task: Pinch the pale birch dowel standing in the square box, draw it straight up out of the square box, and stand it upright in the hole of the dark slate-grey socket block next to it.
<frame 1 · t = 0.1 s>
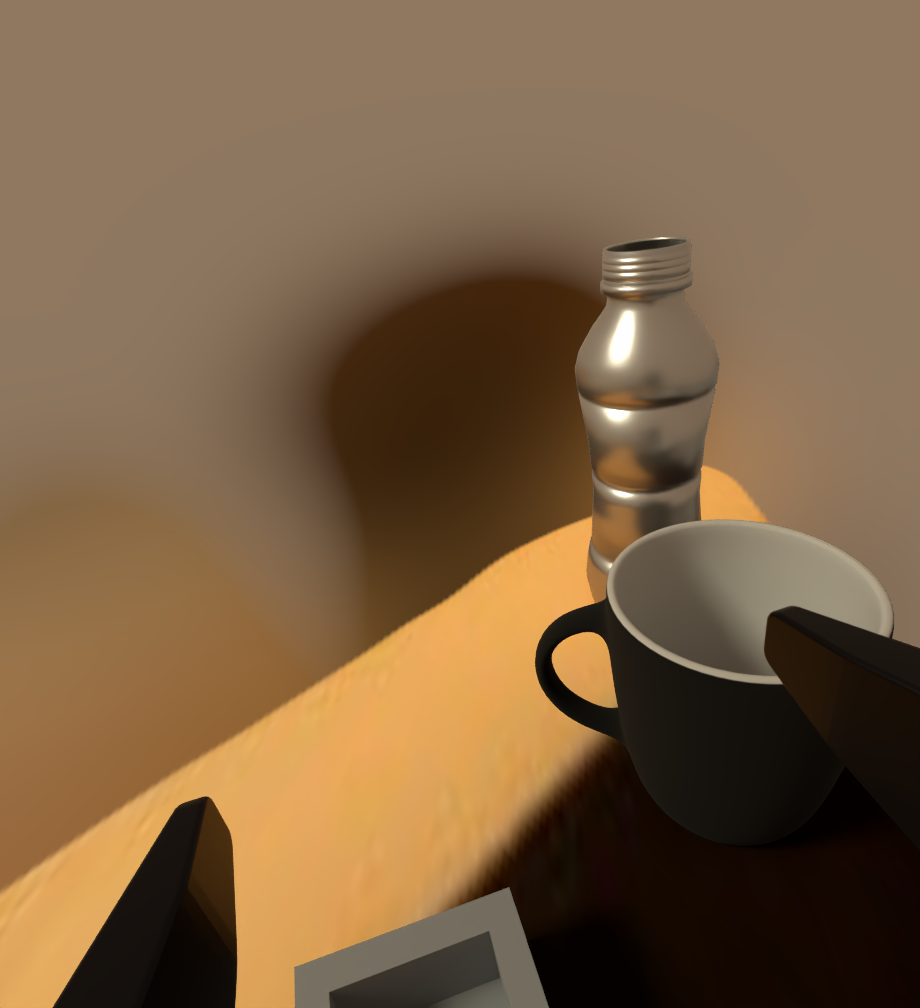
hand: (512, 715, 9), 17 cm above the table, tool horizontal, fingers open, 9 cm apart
plastic bottle: (645, 610, 35), on the table
mug: (682, 771, 26), on the table
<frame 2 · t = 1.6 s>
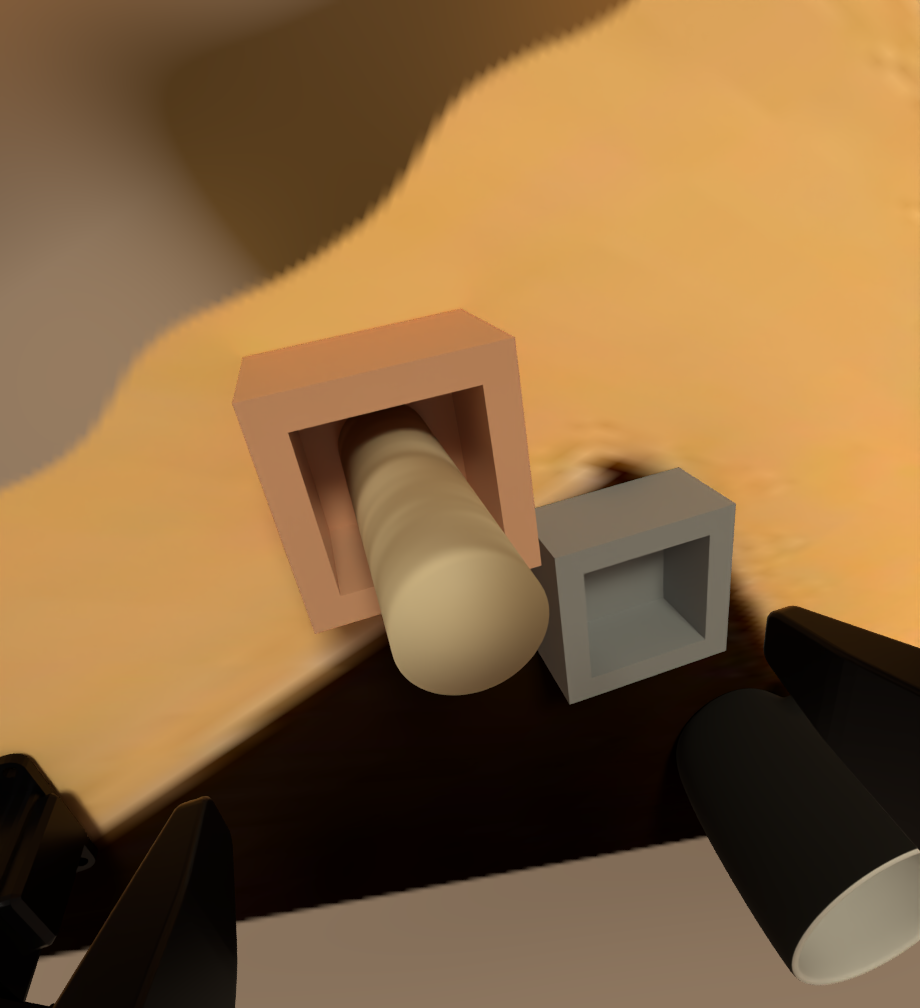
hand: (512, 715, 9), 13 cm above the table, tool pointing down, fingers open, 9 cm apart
dowel: (384, 445, 20), point 1 cm above the table, touching square box
mug: (737, 707, 33), on the table
square box: (380, 435, 20), on the table
socket block: (604, 561, 26), on the table
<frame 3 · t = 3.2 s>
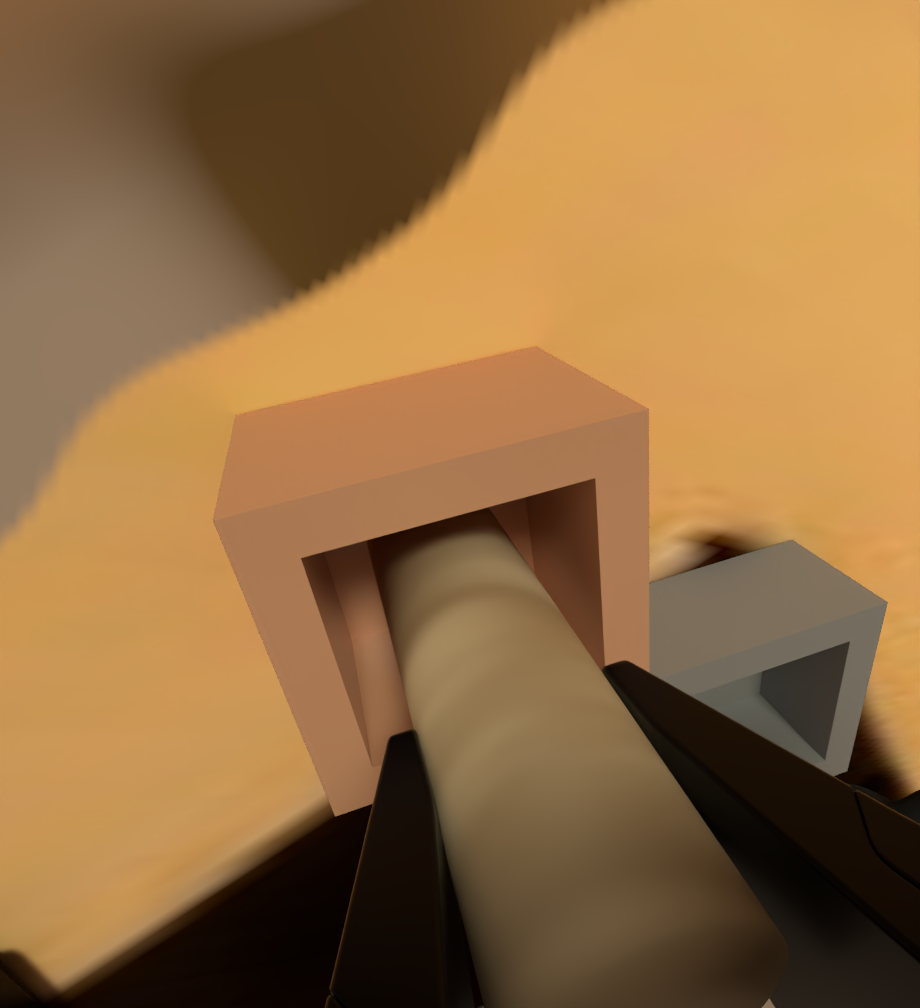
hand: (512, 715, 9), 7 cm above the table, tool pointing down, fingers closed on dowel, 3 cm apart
dowel: (428, 530, 14), point 1 cm above the table, touching square box, gripper
mug: (824, 803, 28), on the table
square box: (420, 511, 15), on the table
socket block: (691, 653, 20), on the table
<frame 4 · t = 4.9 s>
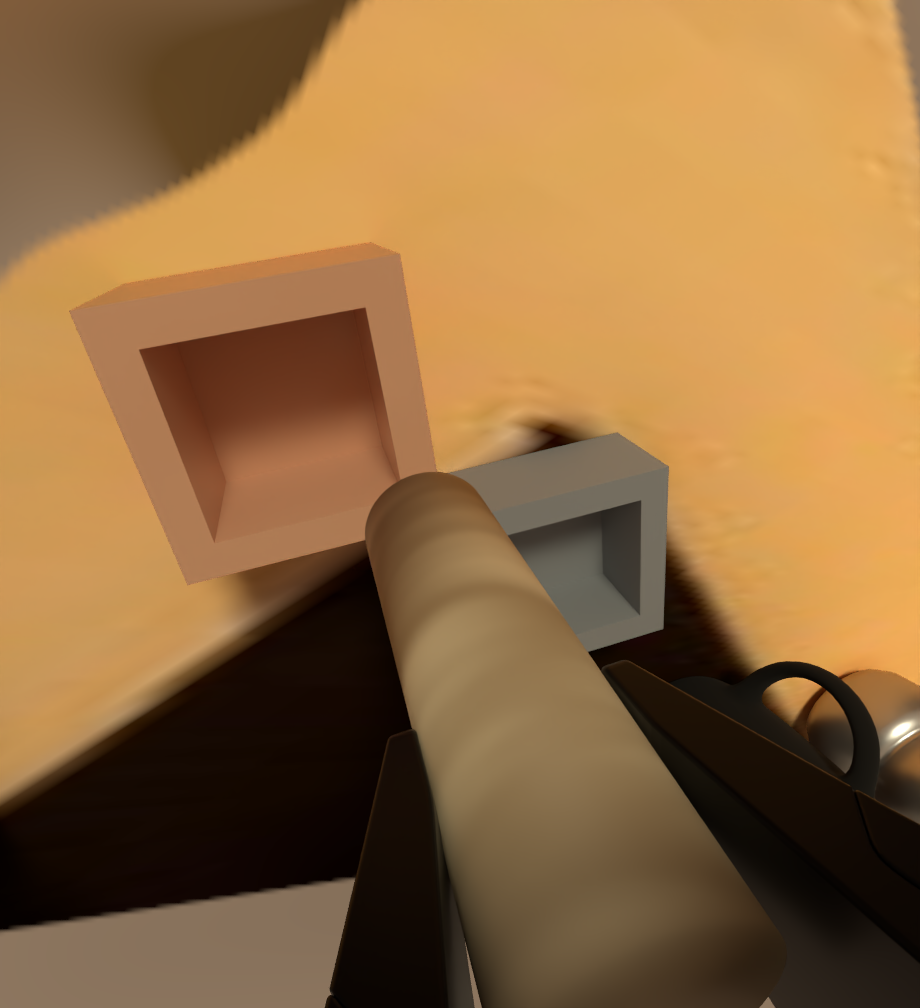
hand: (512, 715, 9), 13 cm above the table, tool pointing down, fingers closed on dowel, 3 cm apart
plastic bottle: (836, 695, 35), on the table
dowel: (427, 529, 14), point 7 cm above the table, touching gripper
mug: (687, 696, 31), on the table
square box: (284, 380, 19), on the table
socket block: (538, 532, 24), on the table
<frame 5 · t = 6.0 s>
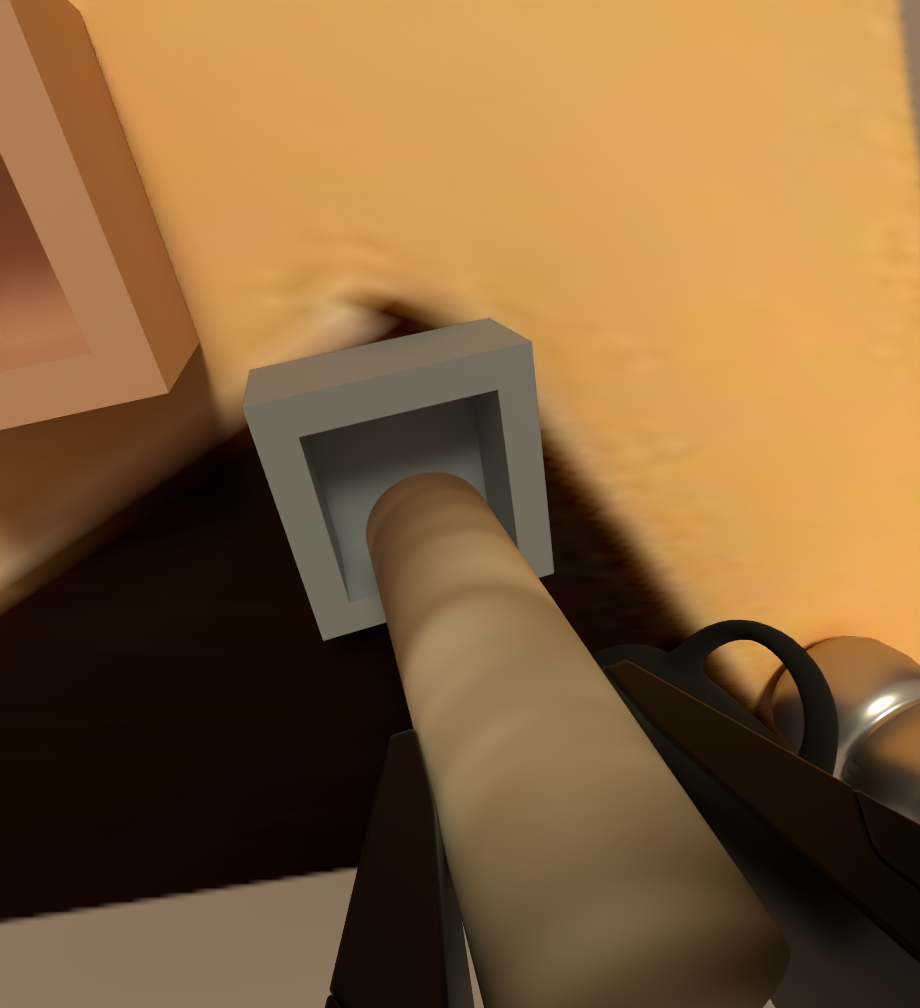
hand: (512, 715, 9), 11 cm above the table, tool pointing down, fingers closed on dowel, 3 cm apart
plastic bottle: (808, 668, 30), on the table
dowel: (428, 529, 14), point 5 cm above the table, touching gripper
mug: (621, 669, 26), on the table
socket block: (397, 453, 19), on the table
when the fingers open (7 cm above the table, at t = 7.0 s): dowel stays where it is, resting on socket block.
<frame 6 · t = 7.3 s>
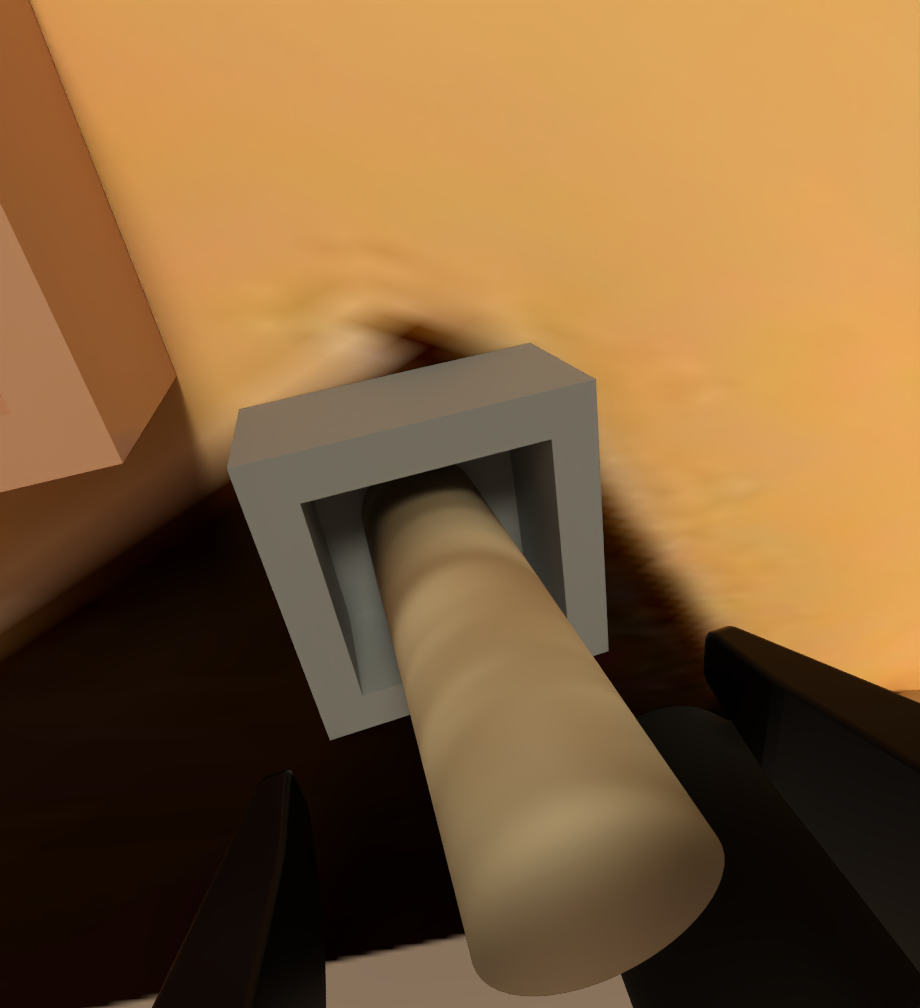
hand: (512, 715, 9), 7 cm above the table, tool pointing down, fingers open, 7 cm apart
dowel: (420, 510, 15), resting on socket block
mug: (665, 732, 23), on the table
socket block: (418, 504, 16), on the table
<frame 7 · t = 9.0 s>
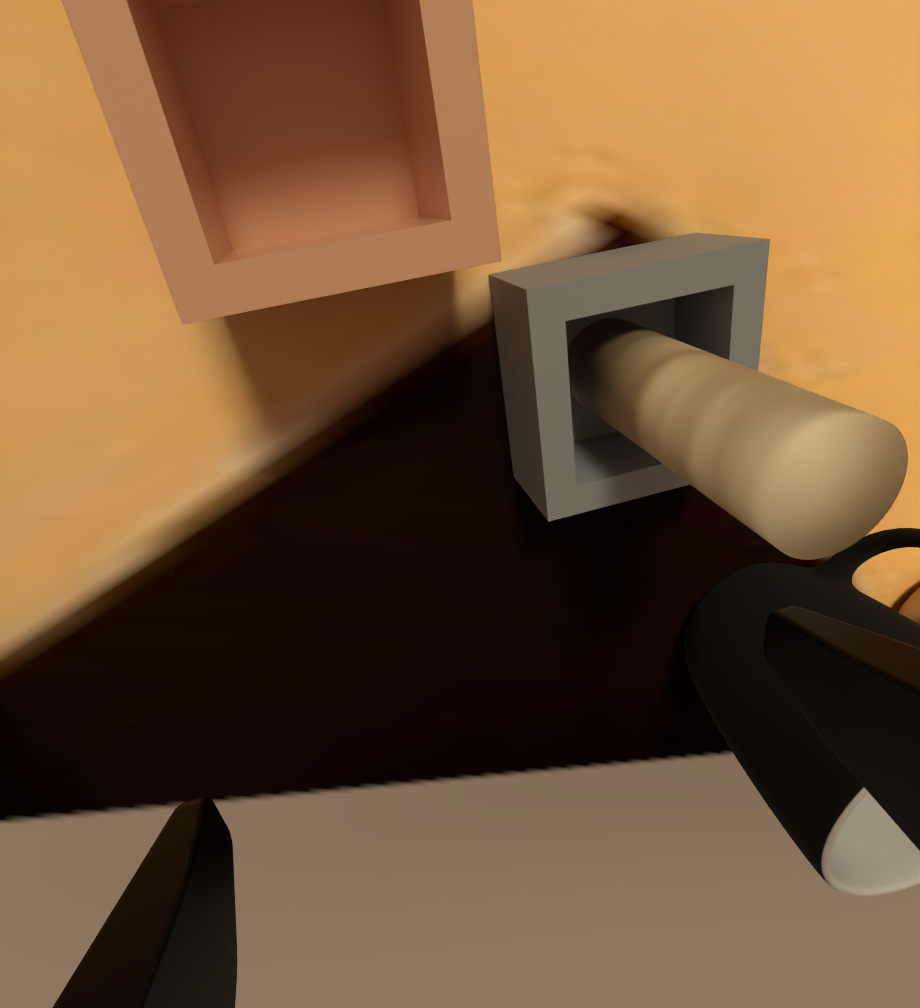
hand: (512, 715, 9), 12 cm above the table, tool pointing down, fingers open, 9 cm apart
dowel: (605, 364, 20), point 1 cm above the table, touching socket block
mug: (758, 590, 28), on the table
square box: (301, 127, 16), on the table
socket block: (599, 361, 21), on the table
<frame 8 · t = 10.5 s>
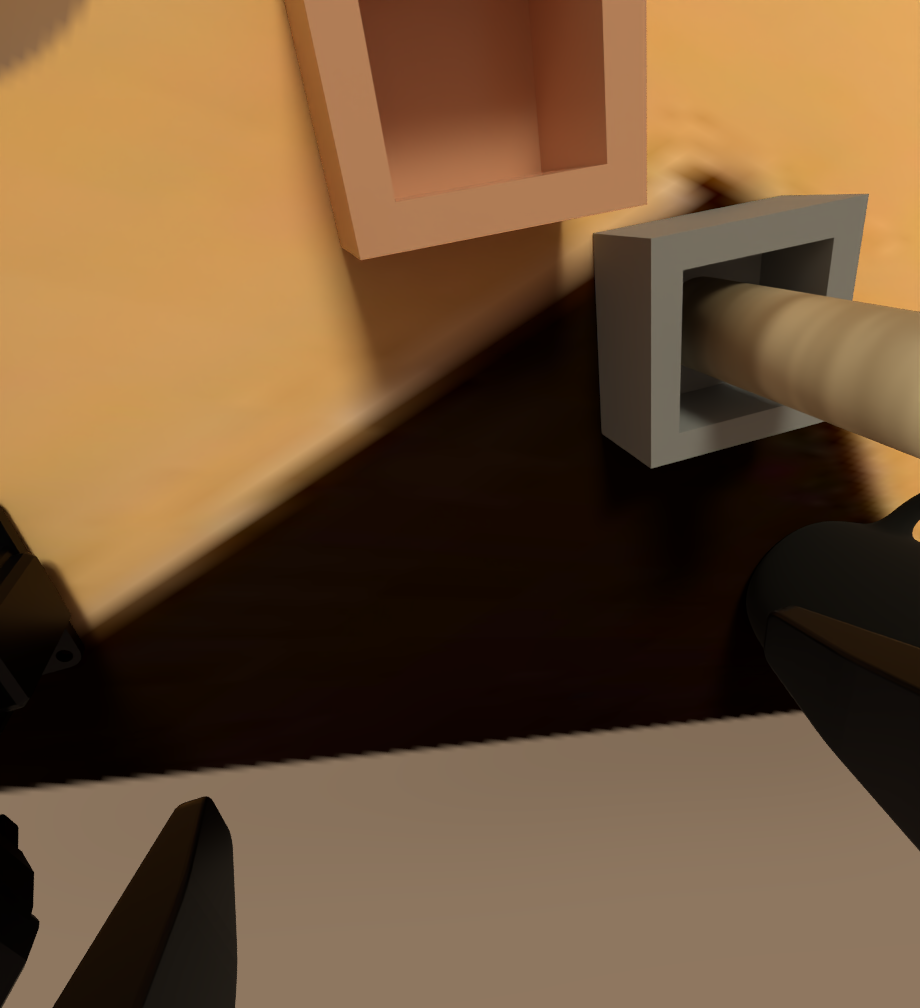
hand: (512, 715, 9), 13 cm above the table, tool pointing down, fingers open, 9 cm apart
dowel: (694, 321, 21), point 1 cm above the table, touching socket block
mug: (815, 549, 29), on the table
square box: (434, 86, 16), on the table
socket block: (686, 320, 22), on the table
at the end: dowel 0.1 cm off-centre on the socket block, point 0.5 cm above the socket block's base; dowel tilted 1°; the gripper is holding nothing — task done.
